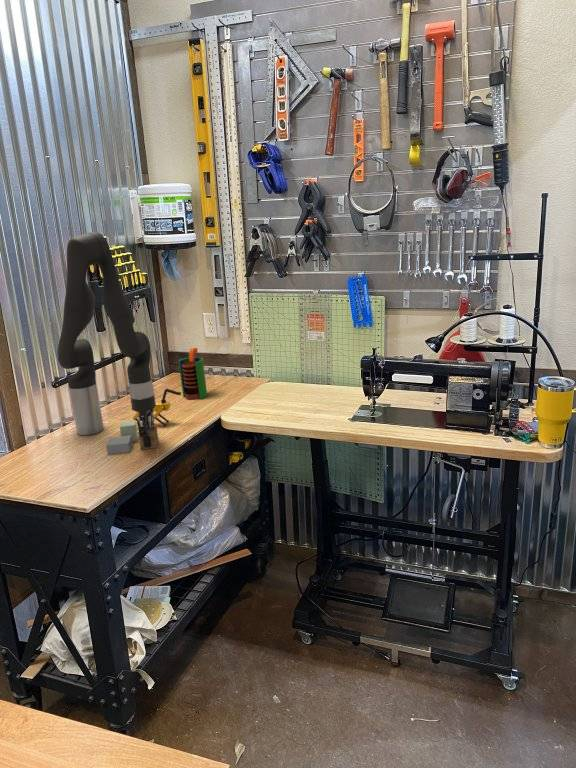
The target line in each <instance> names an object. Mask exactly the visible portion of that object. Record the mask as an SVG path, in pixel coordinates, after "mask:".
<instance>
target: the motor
mask: <svg viewBox="0 0 576 768" xmlns="http://www.w3.org/2000/svg"><path fill="white" fill-rule="evenodd" d="M188 353H189V354H188V357H184V358H181V359H179V360H178V361H177V363H178V368H179V369H178V370H179V375H180V384H181V390H182V397H183V398H185V400H187V401H197V400H200V401H201V400H204V399H206V398H207V397H208V390H207V383H206V382H207V381H206V374H205V367H204V366H205V365H204V359H203V357H198V356H195V355H196V354H198V348H197V347H192V348H191V347H190V348H189V352H188Z"/></svg>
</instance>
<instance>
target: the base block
mask: <svg viewBox="0 0 576 768" xmlns="http://www.w3.org/2000/svg"><path fill="white" fill-rule="evenodd" d="M133 443H134V442H132V437H131V435H129V436H121V435H120V436H112V437H110V436H109V439H108V441H107V442H106V444H105V446H106V448H105V449H106V453H107V455H108V454H110V455H116V453H119V454H125V453H124V452H129V453H130V452H131V450H132V448H131V447H133V445H132V444H133Z"/></svg>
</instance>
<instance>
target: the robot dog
mask: <svg viewBox="0 0 576 768" xmlns="http://www.w3.org/2000/svg"><path fill="white" fill-rule="evenodd" d="M167 393H170V394H173V395H177V396H182V392H181V391H175V390H172V389H169V388H165V389H164V391H163V394H162V395H163V396H162V399H161V400H160V401H155V403H156V407H155V408H154V409H153V415H154V420H156V421H158V422H159V423H160V424H161V425H162V426H163V427H167V424H168V423H170V420H169V419H168V418H166V417H164V416H163V415H162V414H161V413H162V412H168V411H169V410H170V408H171V401H167V400H166V397H167ZM135 412H136V413H135V415H134V416H133V417H132V421H133V420H136V422H137V421H138V416H139V412H137V411H135ZM154 412H155V413H154ZM158 417H160V418H161V419H163V421H165V422H166V423H164V422H163V421H162V420H161V419H160V418H158Z"/></svg>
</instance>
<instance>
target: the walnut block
mask: <svg viewBox="0 0 576 768" xmlns="http://www.w3.org/2000/svg"><path fill="white" fill-rule="evenodd" d="M147 427H148V426H147ZM157 428H158V427H157V425H154V426H151V429H150V440H151V447H144V443H143V437H140V433H139V431H137V432H138V440H139V447H140V450H149V448H153V449H157V447H158V445H159V443H160V442H159V434H158V429H157ZM144 433H146V432H145V431H144Z"/></svg>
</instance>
